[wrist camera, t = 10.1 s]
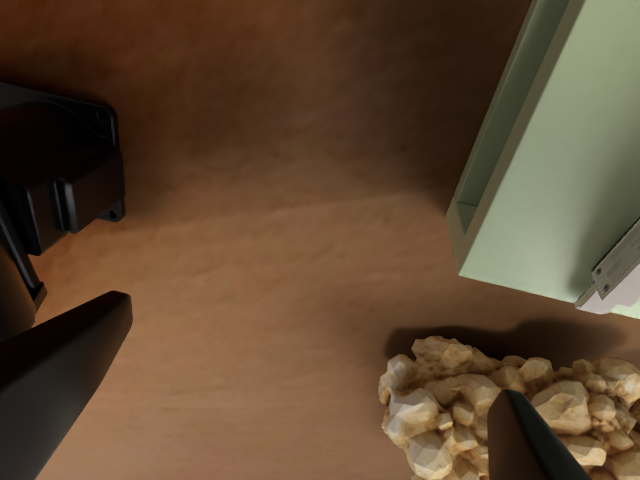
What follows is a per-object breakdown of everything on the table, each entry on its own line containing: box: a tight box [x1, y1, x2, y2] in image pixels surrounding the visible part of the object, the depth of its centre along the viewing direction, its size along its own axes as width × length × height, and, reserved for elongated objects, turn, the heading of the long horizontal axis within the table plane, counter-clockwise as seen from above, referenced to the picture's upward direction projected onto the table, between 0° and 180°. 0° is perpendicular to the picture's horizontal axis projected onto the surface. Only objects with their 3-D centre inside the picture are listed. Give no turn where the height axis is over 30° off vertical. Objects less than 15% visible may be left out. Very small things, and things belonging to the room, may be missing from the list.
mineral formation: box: [378, 336, 640, 480], centre depth 23 cm, size 8×13×15 cm
